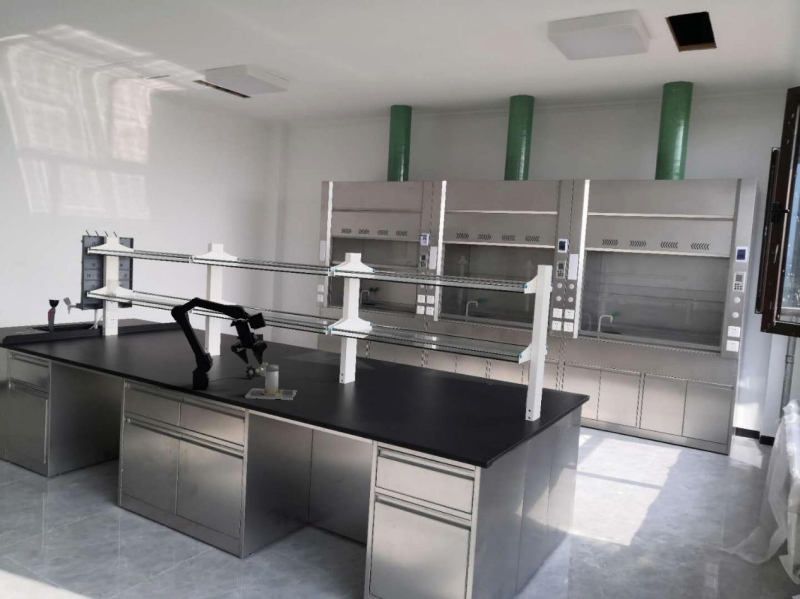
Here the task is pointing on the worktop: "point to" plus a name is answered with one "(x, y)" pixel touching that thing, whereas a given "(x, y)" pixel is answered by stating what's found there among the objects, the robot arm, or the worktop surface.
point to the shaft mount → (261, 394)
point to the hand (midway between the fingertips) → (254, 364)
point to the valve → (256, 370)
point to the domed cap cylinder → (271, 379)
